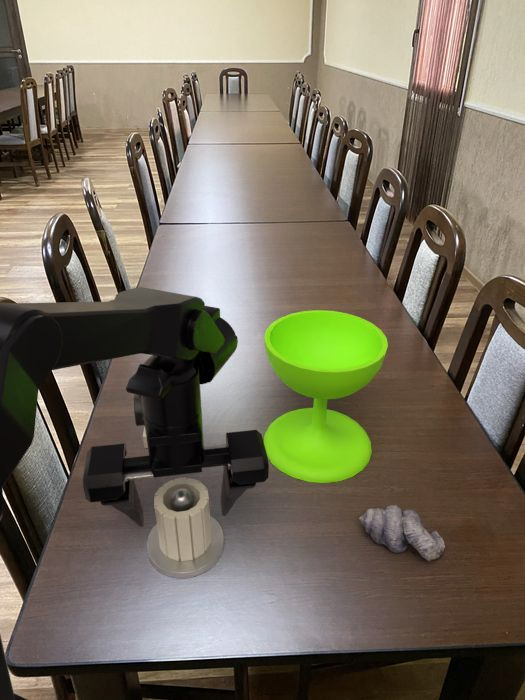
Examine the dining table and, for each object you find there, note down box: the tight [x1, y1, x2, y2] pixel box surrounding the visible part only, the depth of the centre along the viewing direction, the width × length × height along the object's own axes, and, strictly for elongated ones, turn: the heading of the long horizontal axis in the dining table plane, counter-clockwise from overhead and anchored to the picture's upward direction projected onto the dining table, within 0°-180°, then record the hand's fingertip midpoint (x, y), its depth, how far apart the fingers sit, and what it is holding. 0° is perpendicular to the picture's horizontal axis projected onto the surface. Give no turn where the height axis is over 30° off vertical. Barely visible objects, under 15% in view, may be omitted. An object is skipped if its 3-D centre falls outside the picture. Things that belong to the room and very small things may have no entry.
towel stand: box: [146, 488, 225, 579], centre depth 61 cm, size 9×9×9 cm
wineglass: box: [263, 309, 389, 484], centre depth 75 cm, size 16×16×18 cm
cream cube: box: [142, 426, 148, 449], centre depth 78 cm, size 2×2×2 cm
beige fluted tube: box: [153, 477, 211, 562], centre depth 61 cm, size 6×6×7 cm
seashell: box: [359, 504, 446, 562], centre depth 63 cm, size 5×5×10 cm
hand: (183, 518), depth 61 cm, fingers open, 9 cm apart
